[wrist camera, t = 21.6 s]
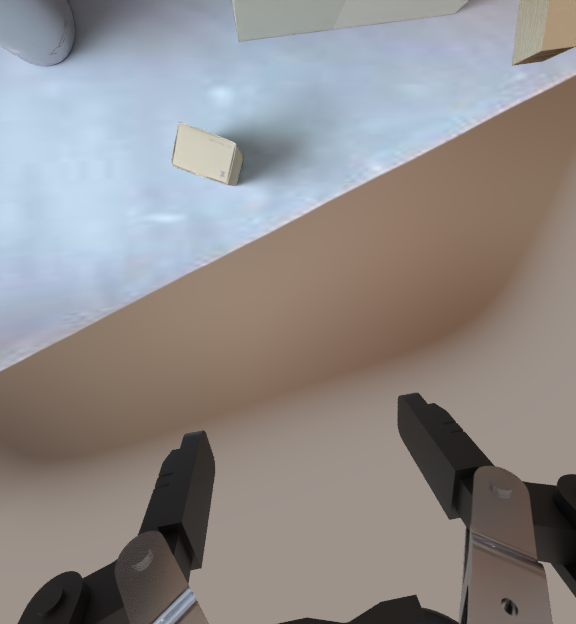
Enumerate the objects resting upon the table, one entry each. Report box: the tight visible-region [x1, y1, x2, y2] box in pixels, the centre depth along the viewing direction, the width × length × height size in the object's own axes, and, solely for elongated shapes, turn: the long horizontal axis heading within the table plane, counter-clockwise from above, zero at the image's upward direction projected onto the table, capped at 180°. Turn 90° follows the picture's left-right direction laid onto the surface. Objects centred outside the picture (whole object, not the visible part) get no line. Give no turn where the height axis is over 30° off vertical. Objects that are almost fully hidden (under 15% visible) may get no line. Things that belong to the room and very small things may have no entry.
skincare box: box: [171, 122, 244, 186], centre depth 36 cm, size 6×4×12 cm
